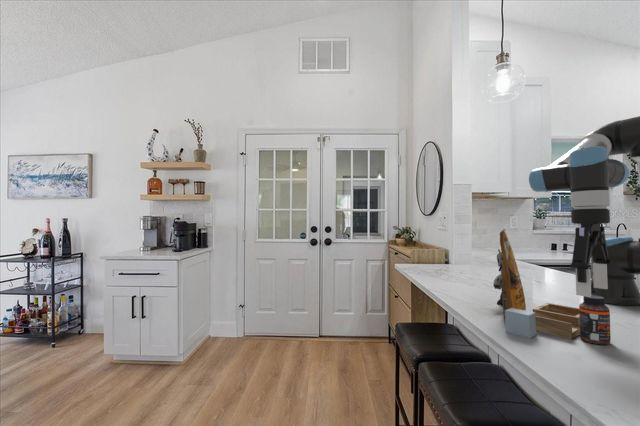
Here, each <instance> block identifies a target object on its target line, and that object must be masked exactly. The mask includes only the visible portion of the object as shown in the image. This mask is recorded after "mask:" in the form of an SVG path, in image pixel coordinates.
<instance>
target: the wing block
mask: <svg viewBox="0 0 640 426" xmlns="http://www.w3.org/2000/svg"><path fill="white" fill-rule="evenodd" d="M504 319H505V320H504V321H505V322H504V323H505V333H509V334H513V335H517V336H519V337H524V338H529V339H531V338H532V337H535V336H536V335H537V331H536V317H535V312H533V311H531V310H520V309H515V308H510V309H507V310H505V318H504Z"/></svg>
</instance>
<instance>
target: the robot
mask: <svg viewBox="0 0 640 426" xmlns="http://www.w3.org/2000/svg"><path fill="white" fill-rule="evenodd" d="M497 251H498V253H497V254H496V260H497V266H498V267H499V268H498V272H500V274H498V275H497V276H496V277H495V278H494V281H493V284H492V285H493V288H494V289H495V290H496V289H497V290H502V260H503V256H502V250H501V249H498V250H497ZM496 304H497V305H498V306H501V307H503V302H502V291H501V292H500V296H499V299H498V300H497V301H496Z"/></svg>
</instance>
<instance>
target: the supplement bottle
mask: <svg viewBox="0 0 640 426" xmlns="http://www.w3.org/2000/svg"><path fill="white" fill-rule="evenodd" d="M582 300H583V302H581V303H579V306H578V308H579V318H580V334H579V337H580V339H581V340H582V341H585V342H587V343H588V344H589V343H590V344H592V345H593V344H594V345H600V346H607V345H609V344H610V343H611V313H610V308H609V307H608V306H607V305H606V303H604V298H603V297H601V296H595V295H591V297H587V296H583V299H582Z"/></svg>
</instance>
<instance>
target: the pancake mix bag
mask: <svg viewBox="0 0 640 426" xmlns="http://www.w3.org/2000/svg"><path fill="white" fill-rule="evenodd" d="M499 245H500V251H501V250H502V251H501V252H502V256H503V260H502V288H501V292H502V302H503V306H502V311H503V318H504V319H505V310H507V309H510V308H515V309H520V310H525V311H527V310H526V309H527V307H526V304H527V303H526V297H525V293H524V287H523V284H522V280H521V276H520V272H519V268H518V264H517V261H516V257H515V254H514V252H513V251H514V250H513V247H512V245H511V243H510V240H509V236H508V234H507V232H506V229H505V228H503V229H502V230H501V231H500V232H499Z"/></svg>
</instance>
